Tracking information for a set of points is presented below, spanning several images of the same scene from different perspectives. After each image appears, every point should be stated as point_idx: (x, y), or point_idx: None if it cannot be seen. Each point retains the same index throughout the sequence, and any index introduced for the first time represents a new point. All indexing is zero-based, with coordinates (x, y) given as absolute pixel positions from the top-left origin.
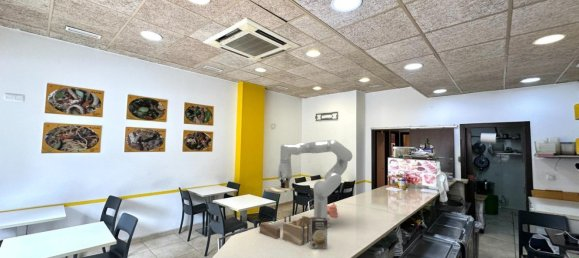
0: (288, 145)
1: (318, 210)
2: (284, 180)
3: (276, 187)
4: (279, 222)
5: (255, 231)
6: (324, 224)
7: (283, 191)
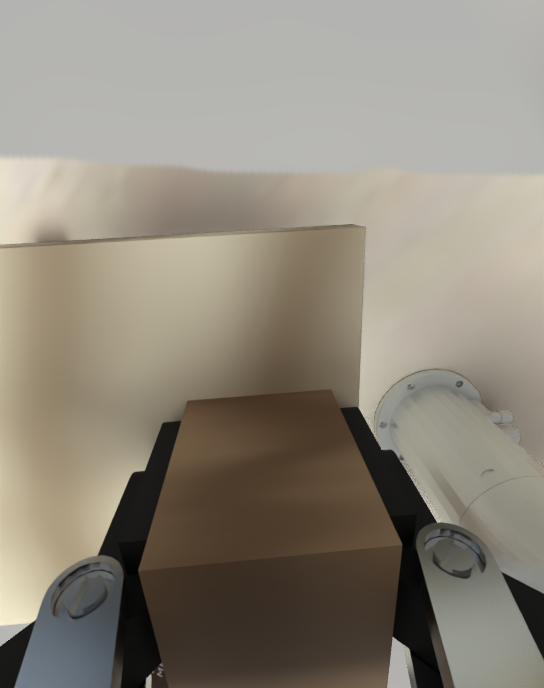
0: None
1: (433, 503)
2: (291, 606)
3: (101, 304)
4: (285, 188)
5: (18, 202)
6: None
7: (29, 611)
